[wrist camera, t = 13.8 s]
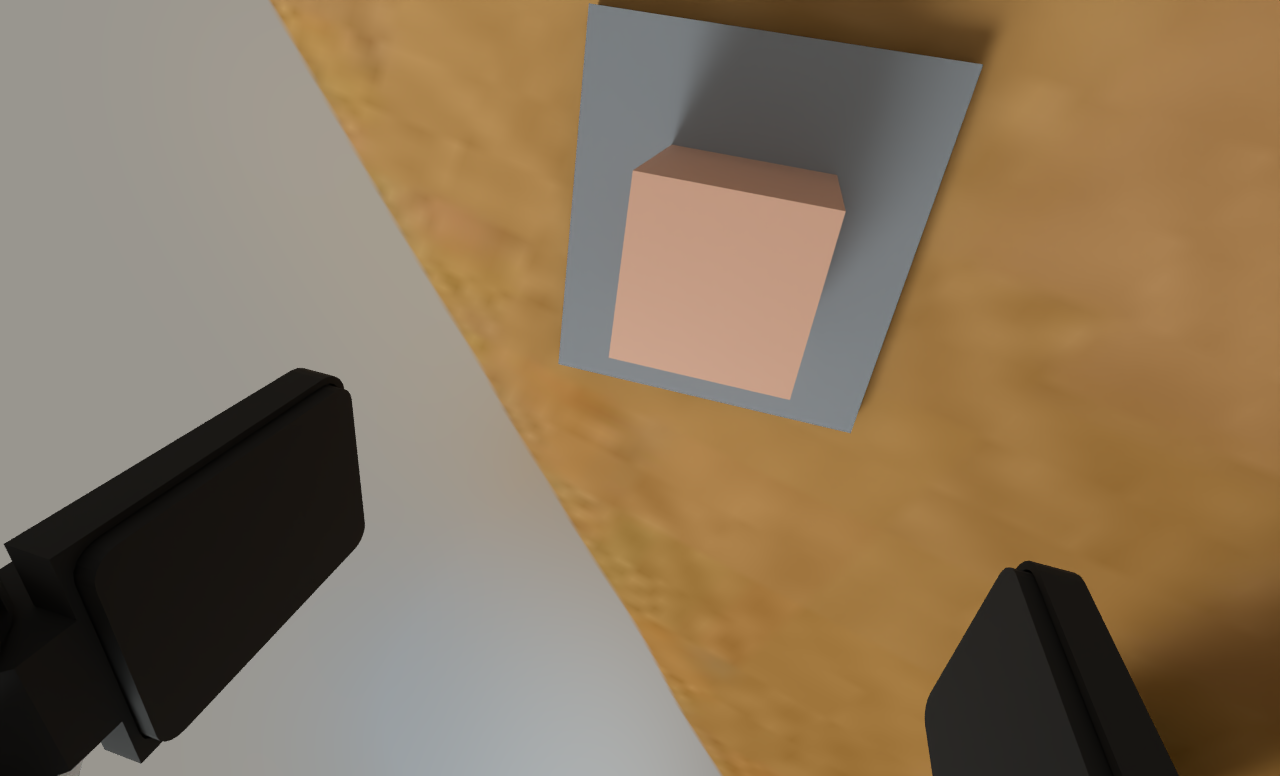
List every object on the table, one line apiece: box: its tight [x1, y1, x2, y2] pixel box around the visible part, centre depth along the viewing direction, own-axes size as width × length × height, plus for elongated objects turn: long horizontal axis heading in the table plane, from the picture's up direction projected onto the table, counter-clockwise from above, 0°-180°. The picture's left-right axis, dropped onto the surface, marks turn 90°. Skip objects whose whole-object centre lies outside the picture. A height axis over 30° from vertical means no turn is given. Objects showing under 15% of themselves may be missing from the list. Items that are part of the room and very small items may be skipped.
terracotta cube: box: [609, 145, 846, 400], centre depth 22 cm, size 6×6×6 cm
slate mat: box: [559, 4, 983, 433], centre depth 25 cm, size 14×13×1 cm
